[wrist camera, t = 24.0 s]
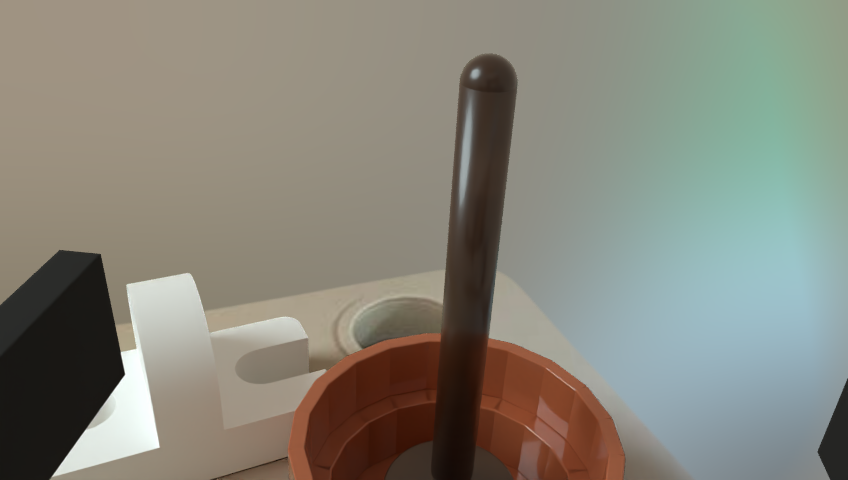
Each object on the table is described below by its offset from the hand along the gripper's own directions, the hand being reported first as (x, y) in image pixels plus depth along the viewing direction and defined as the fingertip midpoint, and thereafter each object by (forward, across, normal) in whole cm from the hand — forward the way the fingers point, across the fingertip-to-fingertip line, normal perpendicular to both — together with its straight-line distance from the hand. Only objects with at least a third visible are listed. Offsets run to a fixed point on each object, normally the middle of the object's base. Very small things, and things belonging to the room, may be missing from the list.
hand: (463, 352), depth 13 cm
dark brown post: (+10, 0, -17) cm, 19 cm away
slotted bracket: (+14, -13, -17) cm, 26 cm away
